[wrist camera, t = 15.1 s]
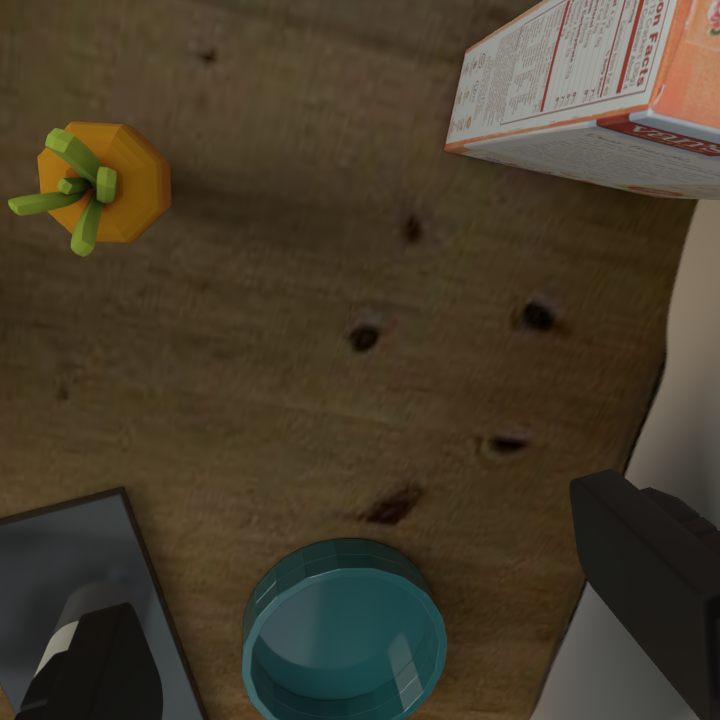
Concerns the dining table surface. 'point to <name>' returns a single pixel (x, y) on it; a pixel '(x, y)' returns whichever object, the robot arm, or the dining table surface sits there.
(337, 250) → the dining table surface
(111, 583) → the glossy dark tile
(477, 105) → the cracker box
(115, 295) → the dining table surface
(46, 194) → the carrot
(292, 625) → the bowl
